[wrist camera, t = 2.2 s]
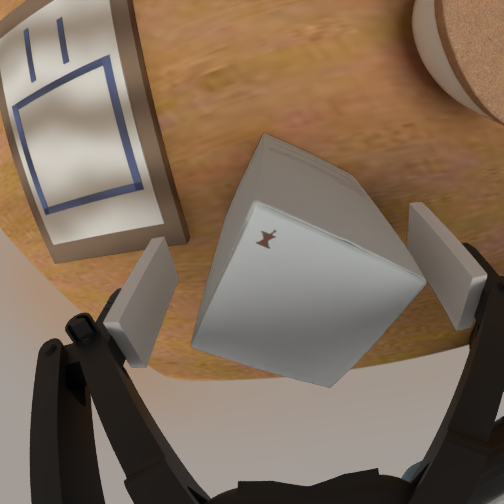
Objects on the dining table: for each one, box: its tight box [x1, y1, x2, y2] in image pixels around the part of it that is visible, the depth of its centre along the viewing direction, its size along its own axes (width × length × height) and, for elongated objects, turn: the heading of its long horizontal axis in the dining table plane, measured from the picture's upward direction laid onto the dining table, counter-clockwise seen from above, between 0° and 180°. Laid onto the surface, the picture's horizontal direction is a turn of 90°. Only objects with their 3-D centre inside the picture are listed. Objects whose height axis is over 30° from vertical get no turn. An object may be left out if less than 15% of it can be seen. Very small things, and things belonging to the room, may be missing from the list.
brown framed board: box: [0, 0, 190, 264], centre depth 19 cm, size 24×14×1 cm, turn 10°
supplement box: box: [191, 133, 427, 388], centre depth 17 cm, size 7×7×13 cm
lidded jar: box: [412, 0, 504, 126], centre depth 11 cm, size 11×11×9 cm
